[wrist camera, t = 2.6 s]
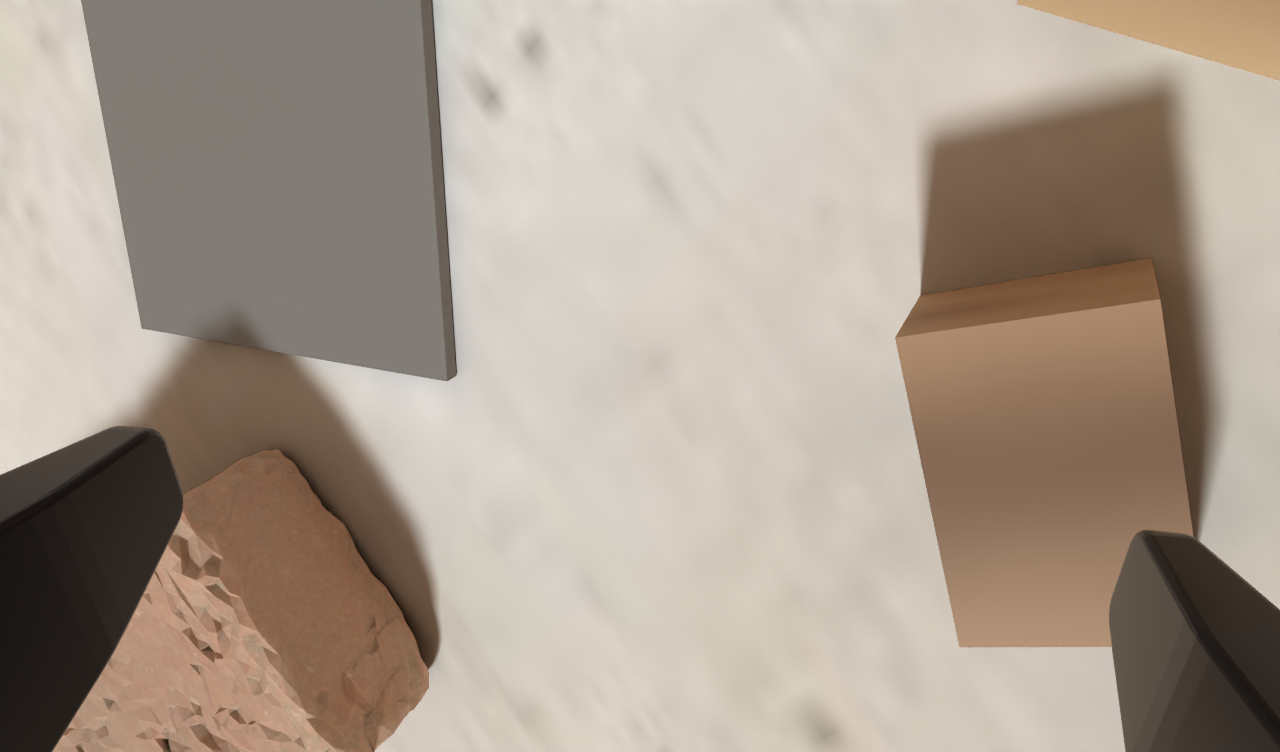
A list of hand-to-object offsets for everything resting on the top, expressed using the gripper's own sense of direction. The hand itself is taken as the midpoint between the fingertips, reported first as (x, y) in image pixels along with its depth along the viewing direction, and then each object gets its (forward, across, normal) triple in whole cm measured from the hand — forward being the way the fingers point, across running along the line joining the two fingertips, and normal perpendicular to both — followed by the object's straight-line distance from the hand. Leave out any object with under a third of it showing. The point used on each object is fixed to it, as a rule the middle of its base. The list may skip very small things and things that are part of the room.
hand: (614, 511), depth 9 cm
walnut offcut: (+10, -7, +5) cm, 13 cm away
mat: (+15, +12, +2) cm, 19 cm away
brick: (+13, +16, +18) cm, 27 cm away
